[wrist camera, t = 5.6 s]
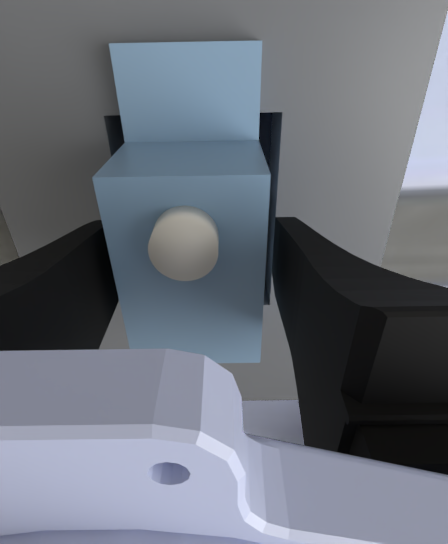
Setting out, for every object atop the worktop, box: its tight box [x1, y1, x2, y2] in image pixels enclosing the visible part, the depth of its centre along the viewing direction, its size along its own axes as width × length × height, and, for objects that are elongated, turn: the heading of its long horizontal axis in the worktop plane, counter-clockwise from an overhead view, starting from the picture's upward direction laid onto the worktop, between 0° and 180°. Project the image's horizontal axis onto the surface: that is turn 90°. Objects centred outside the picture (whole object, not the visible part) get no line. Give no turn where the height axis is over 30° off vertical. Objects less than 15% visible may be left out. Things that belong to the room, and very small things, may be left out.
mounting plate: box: [0, 0, 448, 401], centre depth 14 cm, size 20×14×2 cm
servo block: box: [92, 40, 271, 363], centre depth 12 cm, size 11×4×7 cm, turn 1°
